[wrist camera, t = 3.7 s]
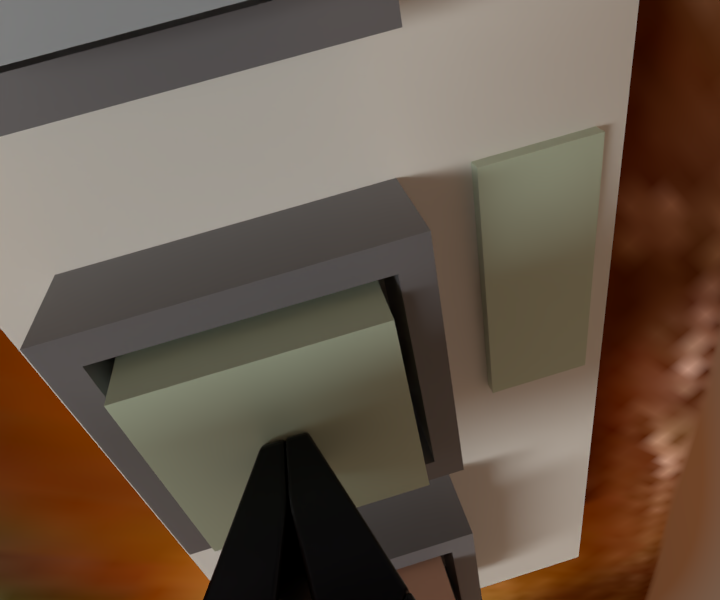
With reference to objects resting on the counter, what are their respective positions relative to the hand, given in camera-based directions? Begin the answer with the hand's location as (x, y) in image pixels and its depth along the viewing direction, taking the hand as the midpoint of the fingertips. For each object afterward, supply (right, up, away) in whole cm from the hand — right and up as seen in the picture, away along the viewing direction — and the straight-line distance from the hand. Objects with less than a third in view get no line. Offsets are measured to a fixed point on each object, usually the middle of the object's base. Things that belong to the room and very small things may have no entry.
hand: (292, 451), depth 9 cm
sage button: (0, +1, +2) cm, 3 cm away
